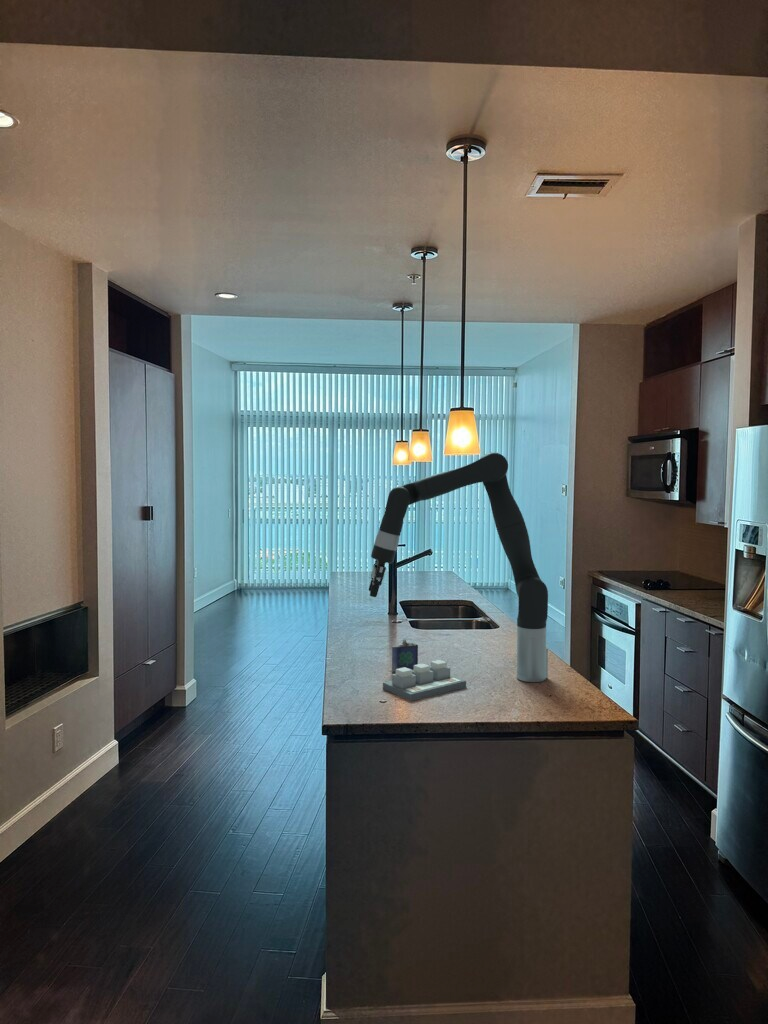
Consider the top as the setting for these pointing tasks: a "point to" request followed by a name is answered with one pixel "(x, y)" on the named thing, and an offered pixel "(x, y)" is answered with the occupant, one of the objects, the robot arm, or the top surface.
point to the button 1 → (403, 672)
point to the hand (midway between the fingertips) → (372, 593)
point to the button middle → (421, 668)
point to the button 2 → (438, 664)
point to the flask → (404, 656)
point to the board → (424, 684)
